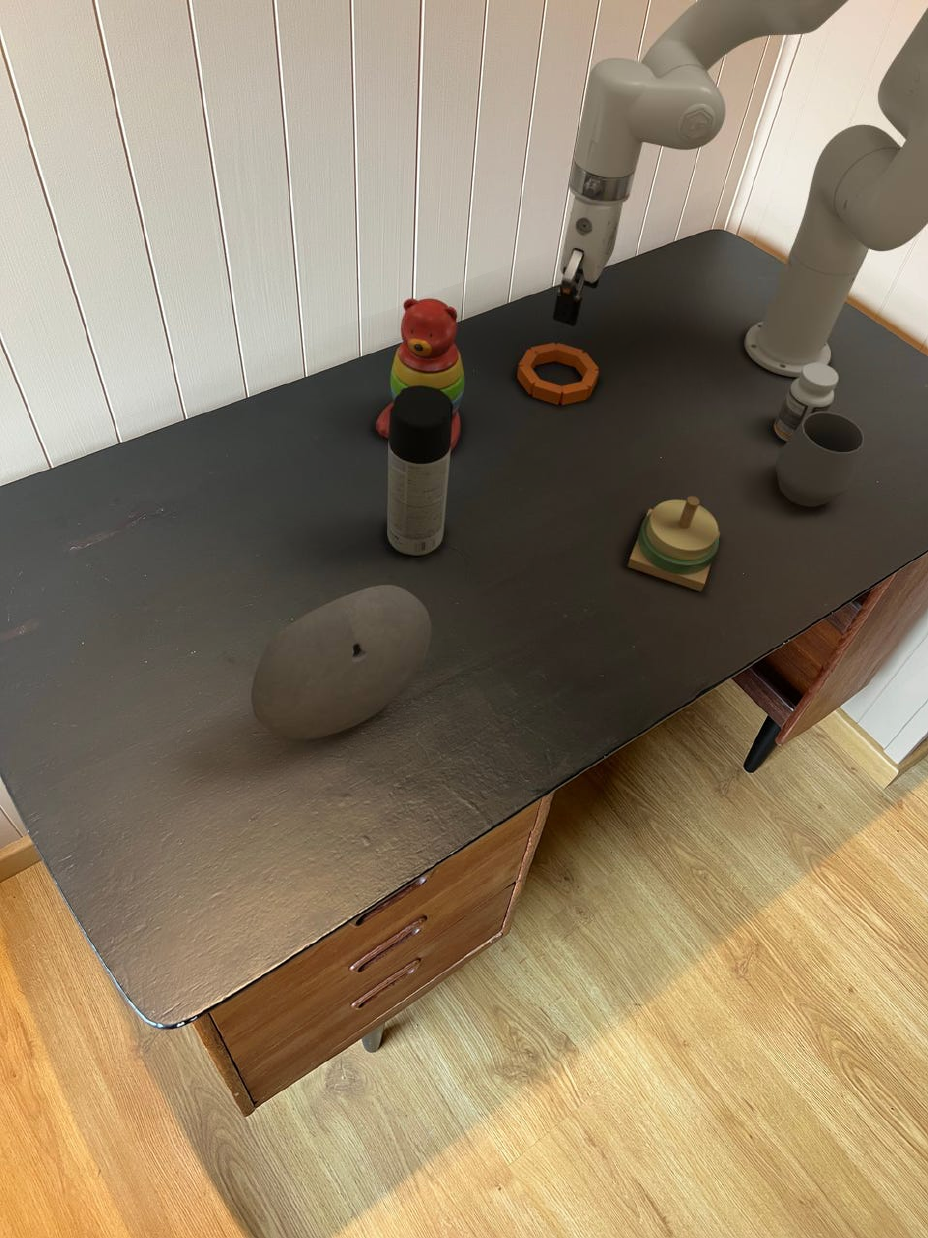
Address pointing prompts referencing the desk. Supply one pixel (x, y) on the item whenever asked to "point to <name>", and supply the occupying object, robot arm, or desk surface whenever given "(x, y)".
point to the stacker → (677, 543)
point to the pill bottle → (806, 397)
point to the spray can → (418, 468)
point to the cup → (819, 459)
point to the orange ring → (554, 391)
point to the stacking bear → (427, 357)
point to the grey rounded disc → (341, 663)
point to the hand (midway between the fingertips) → (575, 302)
